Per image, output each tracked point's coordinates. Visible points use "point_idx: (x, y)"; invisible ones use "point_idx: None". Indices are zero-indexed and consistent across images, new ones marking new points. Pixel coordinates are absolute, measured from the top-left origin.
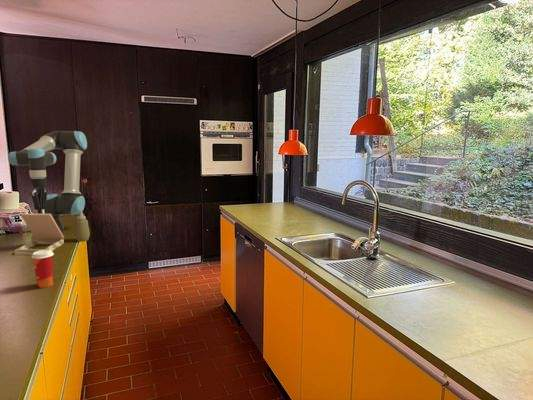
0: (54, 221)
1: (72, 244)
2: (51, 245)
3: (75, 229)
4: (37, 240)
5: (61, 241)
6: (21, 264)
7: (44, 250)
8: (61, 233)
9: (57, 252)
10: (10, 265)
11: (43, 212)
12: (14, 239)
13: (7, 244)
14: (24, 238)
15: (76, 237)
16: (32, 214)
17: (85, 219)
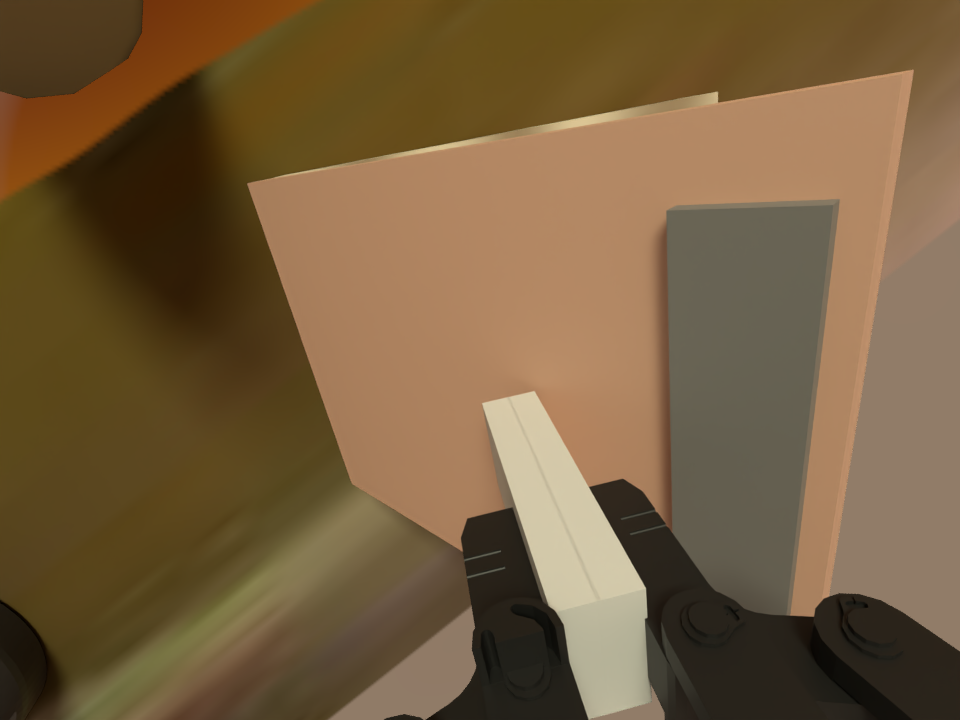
0: (543, 133)
1: (281, 31)
2: None
3: (50, 4)
4: None
5: (332, 166)
6: (937, 119)
7: (715, 98)
8: (298, 175)
9: (612, 7)
10: (942, 194)
11: (573, 523)
12: (302, 674)
13: (437, 614)
14: (249, 641)
15: (134, 23)
16: (831, 564)
17: None
